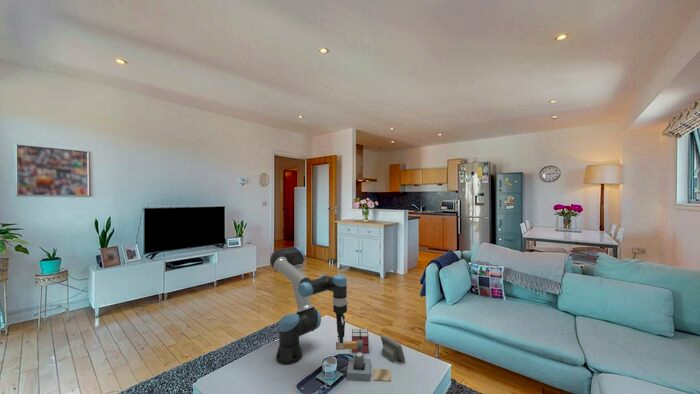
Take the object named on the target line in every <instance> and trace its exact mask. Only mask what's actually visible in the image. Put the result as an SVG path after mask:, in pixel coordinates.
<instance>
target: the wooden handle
mask: <svg viewBox="0 0 700 394" xmlns="http://www.w3.org/2000/svg"><path fill="white" fill-rule="evenodd" d="M343 342H344V348H341V349H339V348H338V341H336V342H335V350H336V351H338V350H340V351H341V350H343V351H344V350H352V349H362V348H363V340H357V341H352V340H351V341H349V340H347V341H343Z"/></svg>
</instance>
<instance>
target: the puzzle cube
mask: <svg viewBox="0 0 700 394" xmlns="http://www.w3.org/2000/svg"><path fill="white" fill-rule="evenodd" d="M357 340H363V348H362V354H367V353H368V354H369V353H370V351H369V349H370V347H369V343H370V342H369V330H368V328H352V329H351V341H357ZM357 352H358V349H351V353H353V354H356V353H357Z"/></svg>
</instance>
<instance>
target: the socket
mask: <svg viewBox="0 0 700 394" xmlns="http://www.w3.org/2000/svg"><path fill="white" fill-rule="evenodd" d="M358 352H361V353H362V349H358ZM362 354H363V353H362ZM347 364H348V365H347V370H346V380H347V381H349V380H350V381H363V382H371V370H372V366H371V365H372V359H371V358H365V357H364V370H355V357H349V359H348V363H347Z"/></svg>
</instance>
